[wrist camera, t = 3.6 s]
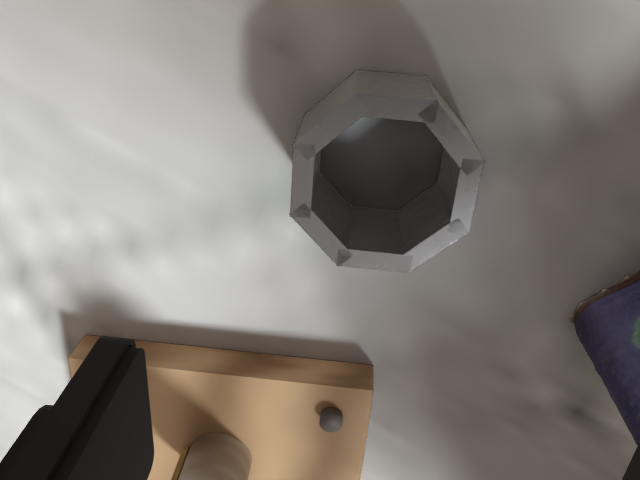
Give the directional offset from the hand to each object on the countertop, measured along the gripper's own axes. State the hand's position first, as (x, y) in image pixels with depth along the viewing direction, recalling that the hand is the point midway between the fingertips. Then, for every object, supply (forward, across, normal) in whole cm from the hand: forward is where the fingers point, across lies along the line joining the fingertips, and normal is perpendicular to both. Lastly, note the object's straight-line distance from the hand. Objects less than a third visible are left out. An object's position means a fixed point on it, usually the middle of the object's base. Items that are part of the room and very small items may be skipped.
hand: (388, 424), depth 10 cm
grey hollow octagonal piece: (+17, 0, 0) cm, 17 cm away
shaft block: (+16, +7, +18) cm, 26 cm away
